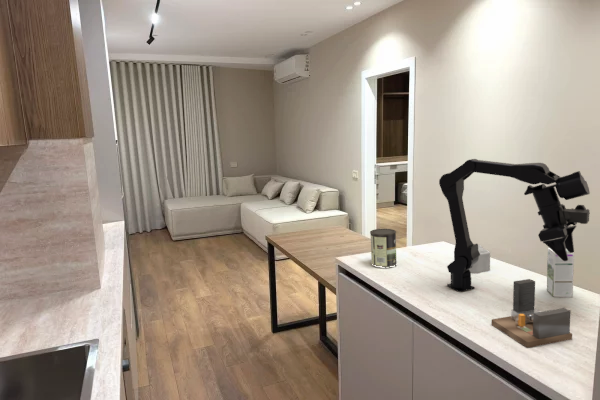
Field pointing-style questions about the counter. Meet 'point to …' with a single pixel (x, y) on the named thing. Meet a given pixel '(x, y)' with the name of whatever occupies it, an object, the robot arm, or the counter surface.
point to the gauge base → (523, 335)
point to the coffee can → (383, 247)
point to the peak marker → (521, 320)
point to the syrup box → (560, 274)
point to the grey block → (481, 261)
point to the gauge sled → (524, 300)
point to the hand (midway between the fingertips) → (569, 256)
